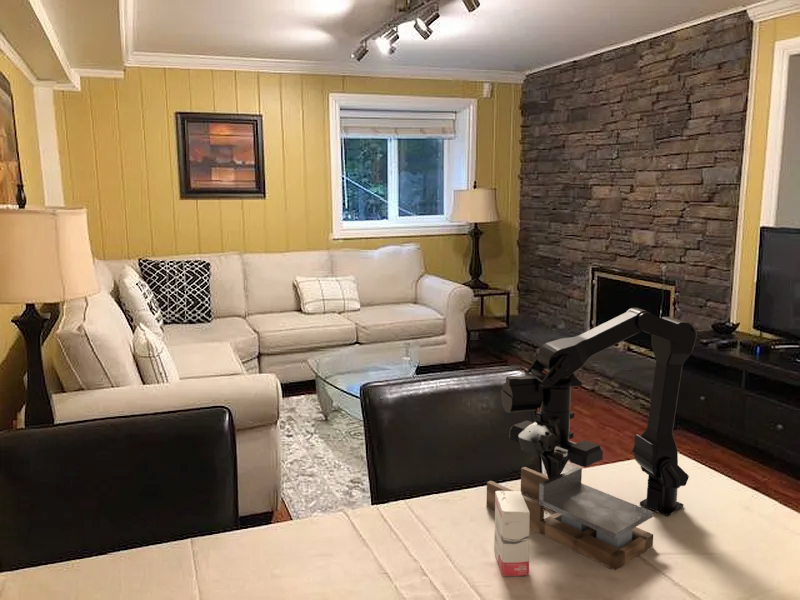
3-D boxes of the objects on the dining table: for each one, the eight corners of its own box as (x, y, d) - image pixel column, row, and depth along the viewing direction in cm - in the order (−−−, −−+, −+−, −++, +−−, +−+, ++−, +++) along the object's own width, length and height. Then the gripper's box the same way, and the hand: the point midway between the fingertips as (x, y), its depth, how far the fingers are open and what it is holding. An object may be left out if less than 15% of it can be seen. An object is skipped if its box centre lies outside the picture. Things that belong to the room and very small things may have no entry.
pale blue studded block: (575, 524, 130) (576, 498, 129) (594, 533, 126) (595, 506, 125) (561, 531, 127) (561, 505, 126) (580, 540, 124) (581, 513, 123)
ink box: (529, 576, 112) (531, 512, 110) (501, 577, 112) (502, 512, 110) (519, 549, 121) (521, 489, 119) (493, 549, 121) (494, 489, 119)
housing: (524, 489, 145) (524, 466, 144) (652, 547, 121) (654, 519, 120) (486, 506, 137) (486, 482, 136) (615, 570, 114) (617, 542, 113)
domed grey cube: (609, 539, 124) (611, 512, 123) (631, 549, 120) (632, 521, 120) (595, 547, 121) (597, 520, 120) (617, 558, 118) (618, 529, 117)
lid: (576, 486, 133) (577, 466, 132) (652, 517, 120) (653, 495, 120) (538, 504, 126) (539, 483, 125) (615, 538, 113) (616, 516, 112)
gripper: (491, 404, 130) (490, 478, 132) (569, 430, 116) (566, 513, 118) (528, 393, 137) (526, 464, 139) (606, 416, 122) (602, 495, 125)
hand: (552, 483), depth 130 cm, fingers closed
